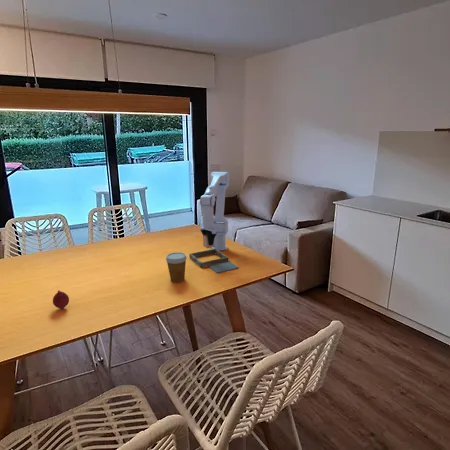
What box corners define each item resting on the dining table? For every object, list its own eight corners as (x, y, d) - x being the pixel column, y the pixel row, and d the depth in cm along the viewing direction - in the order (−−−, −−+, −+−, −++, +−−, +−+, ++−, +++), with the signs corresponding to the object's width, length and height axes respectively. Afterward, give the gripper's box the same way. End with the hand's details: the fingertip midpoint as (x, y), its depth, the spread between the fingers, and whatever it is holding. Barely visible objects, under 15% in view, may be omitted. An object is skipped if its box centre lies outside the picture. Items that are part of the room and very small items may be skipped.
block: (203, 246, 180) (203, 235, 178) (211, 244, 182) (210, 233, 180) (206, 248, 176) (206, 237, 175) (214, 246, 178) (214, 235, 177)
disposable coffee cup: (189, 275, 163) (188, 252, 160) (185, 284, 154) (184, 259, 151) (170, 275, 164) (168, 251, 161) (164, 284, 155) (163, 259, 152)
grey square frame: (189, 258, 185) (189, 253, 184) (215, 252, 192) (215, 248, 191) (201, 267, 172) (201, 263, 171) (228, 261, 179) (228, 257, 178)
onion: (72, 304, 138) (69, 286, 136) (66, 312, 133) (63, 293, 131) (58, 305, 138) (54, 287, 136) (51, 312, 133) (48, 293, 130)
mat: (208, 266, 173) (208, 265, 173) (229, 262, 178) (229, 260, 178) (216, 273, 165) (216, 272, 165) (238, 268, 170) (238, 267, 170)
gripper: (195, 216, 179) (196, 240, 183) (206, 222, 167) (207, 248, 171) (207, 214, 183) (208, 238, 186) (219, 220, 170) (220, 246, 174)
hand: (208, 243), depth 179 cm, fingers closed on block, 4 cm apart
